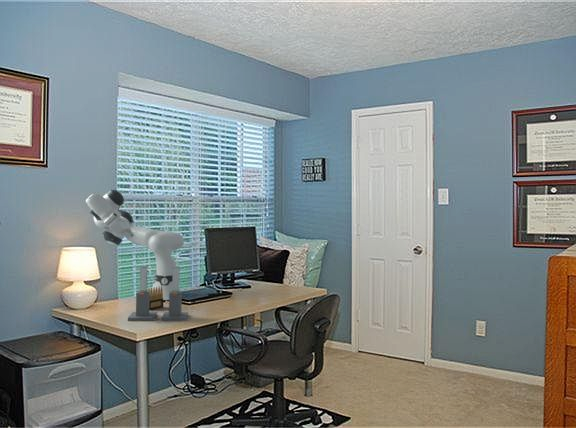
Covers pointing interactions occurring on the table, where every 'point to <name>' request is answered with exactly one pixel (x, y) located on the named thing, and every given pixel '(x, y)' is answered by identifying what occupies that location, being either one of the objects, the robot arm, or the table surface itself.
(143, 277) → the left jack column
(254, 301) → the table surface
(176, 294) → the right jack stand
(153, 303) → the ammunition clip
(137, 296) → the base
